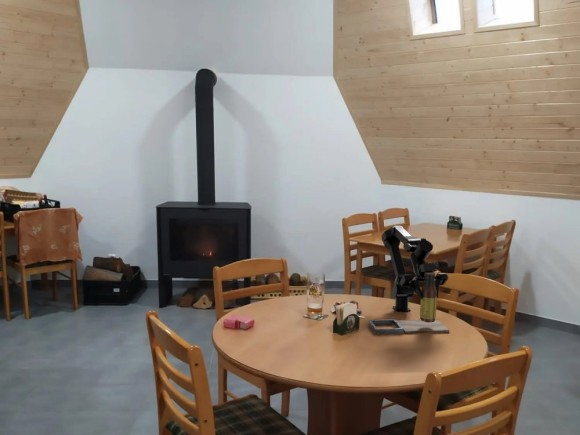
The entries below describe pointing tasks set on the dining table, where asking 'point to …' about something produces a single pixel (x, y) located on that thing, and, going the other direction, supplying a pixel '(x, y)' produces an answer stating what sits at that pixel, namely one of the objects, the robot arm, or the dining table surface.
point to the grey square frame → (388, 330)
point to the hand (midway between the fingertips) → (429, 298)
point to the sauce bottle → (428, 299)
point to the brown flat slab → (422, 326)
